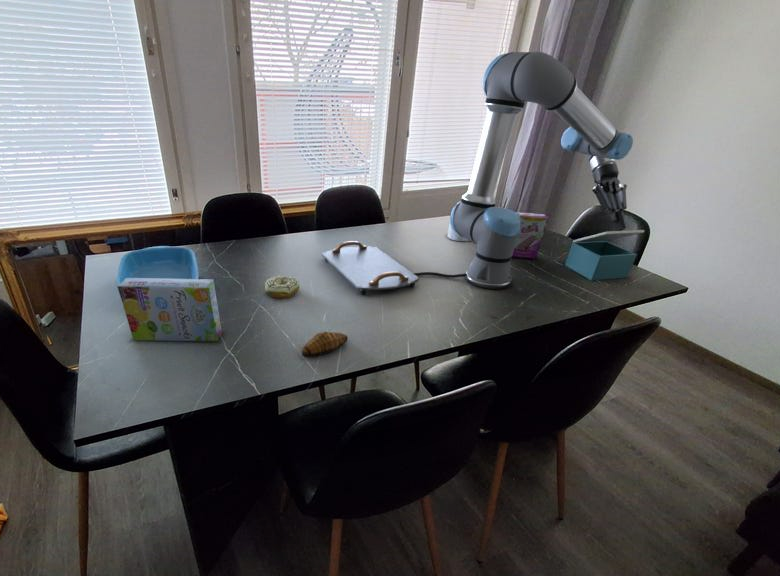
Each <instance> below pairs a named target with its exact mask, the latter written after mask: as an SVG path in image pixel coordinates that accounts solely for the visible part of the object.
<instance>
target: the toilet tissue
mask: <svg viewBox="0 0 780 576" xmlns="http://www.w3.org/2000/svg"><path fill="white" fill-rule="evenodd" d="M448 224H449V225H448V229H447V238H448V239H450V240H453V241H455V242H469V241H470V240H468V239H466V238H463V237H461V236H460V235H459V234H457V233H456V232H455V231H454V230H453V229H452V227H451V223H450V222H449V223H448Z"/></svg>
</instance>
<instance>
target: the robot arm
mask: <svg viewBox="0 0 780 576" xmlns="http://www.w3.org/2000/svg"><path fill="white" fill-rule="evenodd" d="M482 89H483V93H484V96H486V97H485V102H484V106H485V108H486V109H487V113H486V118H485V122H484V126H483V131H482V133H481V137H480V141H479V145H478V149H477V152H476V156H475V157H476V158H475V162H474V165H473V170H472V173H471V177H470V181H469V185H468V189H467V192H465V193H464V194H463V195H461V199H460V201H458V202H457V203H456V205H455V206H453V208H452V210H451V212H450V216H449V217H450V218H449V223H451V227H452V229H453V230H454V231H455V232H456V233H457V234H459V235H460V236H461V237H463V238H466V239H468V240H469V241H470V242H472V243H474V244H476V245H477V246H476V250H475V251H476V252H475V255H474V257H473V259H472V261H471V263H470V265H469V267H468V268H467V270H466V272H465V273H459V274H445V273H440V272H433V271H423V272H422V271H421V272H412V273H413V274H414V275H416V276H417V277H418V276H436V277H442V278H448V279H449V278H450V279H453V278H454V279H455V278H465V280H466V281H467V282H468V283H470V284H471V285H473V286H475V287H477V288H478V287H479V288H482V289H486V290H503V289H506V288H508V287H510V286H511V282H512V278H513V277H512V265H511V264H512V263H511V261H512V258H513V257H512V254H513V251H514V247H515V244H516V240H517V237H518V233H519V230H520V223H521V219H520V217H519V215H518V214H517V212H516V211H513V210H512V209H509V208H505V207H500V206H496V203H497V202H496V200H495V197H494V194H495V190H496V187H497V183H498V180H499V176H500V173H501V170H502V165H503V163H504V159H505V157H506V152H507V149H508V146H509V142H510V138H511V135H512V131H513V128H514V124H515V121H516V117H517V115H518V114H519V113H521V112H522V111H523V110H524V108H525V104H526V102H528V103H532V104H537V105H539V106H542V107H543V108H544V109H545V110H546V111H549V112H554V113H555V114H556V115H558V117H560V118H561V119H562V120H563V122H565V123H566V124H567V125H568V126H569V127H568V128H566V129H565V130H564V132H563V134H562V136H561V139H560V145H561V147H562V148H563V149H564V150H566V151H568V152H574V153H579V154H582V155H587V159H588V162H589V165H590V169H591V173H592V177H593V182H594V184H596V185H595V186H594V187H593V188H591V191H592V193H593V194H594V195H595V197H596V199H597V201H598V203H599V205H600V207H601V209H602V211H603V213H604V214H606V216H608V217H609V216H610V219H611V222H612V224H613V227H614V231H624V230H625V229H627V227H626V224H625V216H624V211H625V210H627V208H628V205H627V187H628V185H627V184H625V183H624V184H622V183H621V182H620V180H619V178H618V177H619V174H620V172H619V168H618V164H617V161H619V160H622V159H624V158H626V157H627V155H629V153H630V152H631V150H632V148H633V145H634V138H633V136H632V134H629V133H626V132H620V131H619V130H618V129H616V127H615V126H614V125H613V124H612V122H610V121H609V119H608V118H607V117H605V115H604V114H603V113H602V111H600V110H599V109H598V108H597V106H596V105H595V104H594V103H593V102H592V101H591V99H589V97H587V96H586V94H585V93H584V92H583V91H582V90H581V89H580V88H579V87H578V80H577V78H576V76H575V75H574V74H573V73H572V72H571V71H570V70H569V68H567V67H566V66H565V65H564V64H562V63H561V61H559V60H558V59H556V58H555V57H553V56H552V55H550V54H548V53H546V52H543V51H510V52H507V53H502V54H499V55H497V56H496V57H494V58H493V60H492V61H491V62H490V63H489V64H488V65H487V68H485V72H484V73H483V76H482Z"/></svg>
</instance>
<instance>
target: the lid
mask: <svg viewBox="0 0 780 576" xmlns="http://www.w3.org/2000/svg"><path fill="white" fill-rule="evenodd" d="M644 233H645V230H644V229H633V230H622V231H615V230H613V231H612V230H610V231H604V232H600V233H597V234H593V235H589V236H584V237H581V238H577V239H573V240H572V243H579V242H599V241H608V242H610V241H613V240H618V239H622V238H626V237H630V236H634V235H635V236H636V235H639V234H644Z"/></svg>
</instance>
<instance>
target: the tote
mask: <svg viewBox="0 0 780 576" xmlns="http://www.w3.org/2000/svg"><path fill="white" fill-rule="evenodd" d="M637 256H638V254H637V253H634V252H632V251H630V250H628V249H626V248H623V247H621V246H619V245H617V244H615V243H612V242H610V241H595V242H575V243H573V242H572V243H571V246H570V249H569V252H568V254H567V257H566V260H565V263H564V266H565V267H567V268H569V269H571V270H572V271H574V272H576V273H577V274H579V275H581V276H583V277H585V278H586V279H588V280H589V281H599V280H614V279H626V278H628V276H629V274H630V271H631V269H632V267H633V266H634V262H635V260H636V258H637Z"/></svg>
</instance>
